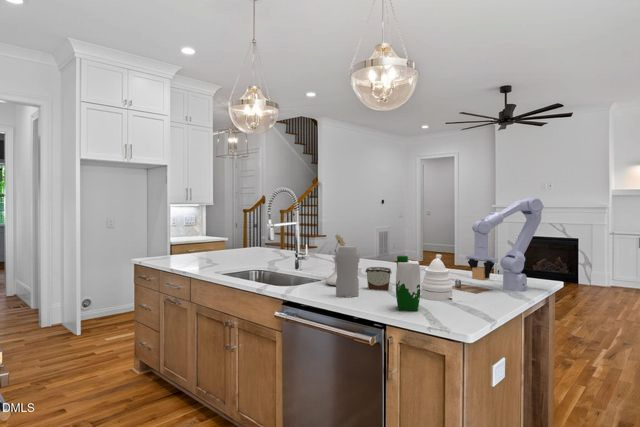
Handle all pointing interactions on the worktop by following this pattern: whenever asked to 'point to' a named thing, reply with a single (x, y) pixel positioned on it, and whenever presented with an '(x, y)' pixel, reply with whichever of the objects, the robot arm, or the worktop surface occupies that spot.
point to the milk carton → (407, 284)
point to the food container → (378, 278)
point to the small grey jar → (457, 283)
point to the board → (471, 289)
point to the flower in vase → (333, 277)
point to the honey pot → (436, 281)
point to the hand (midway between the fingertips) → (480, 276)
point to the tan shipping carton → (479, 273)
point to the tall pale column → (347, 271)
